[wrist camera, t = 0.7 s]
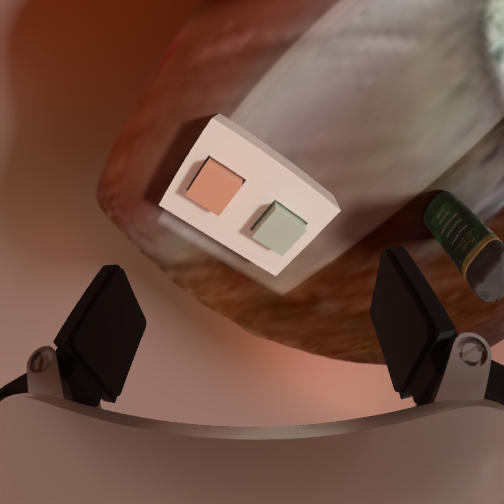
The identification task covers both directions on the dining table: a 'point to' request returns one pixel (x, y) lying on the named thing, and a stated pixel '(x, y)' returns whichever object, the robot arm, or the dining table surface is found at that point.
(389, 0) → the dining table surface
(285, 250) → the sage button
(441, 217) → the coffee jar
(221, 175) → the terracotta button
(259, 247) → the button panel
